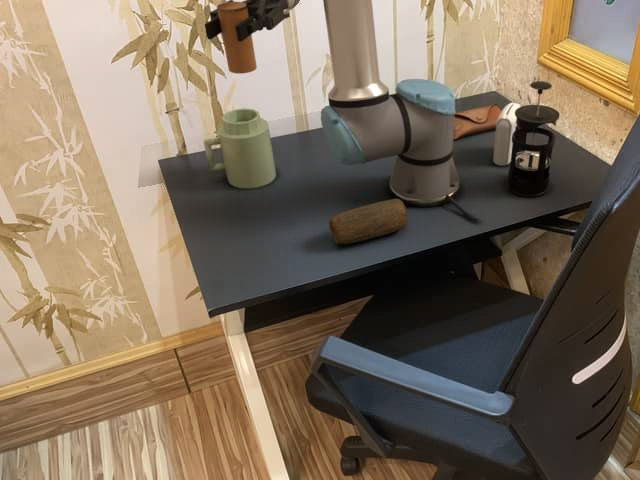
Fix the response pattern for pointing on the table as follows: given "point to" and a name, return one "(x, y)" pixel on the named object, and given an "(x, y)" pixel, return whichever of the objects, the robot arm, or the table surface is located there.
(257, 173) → the jug
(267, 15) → the robot arm
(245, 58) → the brown cylindrical canister
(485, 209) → the table surface
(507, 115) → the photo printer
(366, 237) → the brown wooden cylinder
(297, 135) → the table surface
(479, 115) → the sunglasses case
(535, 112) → the french press
